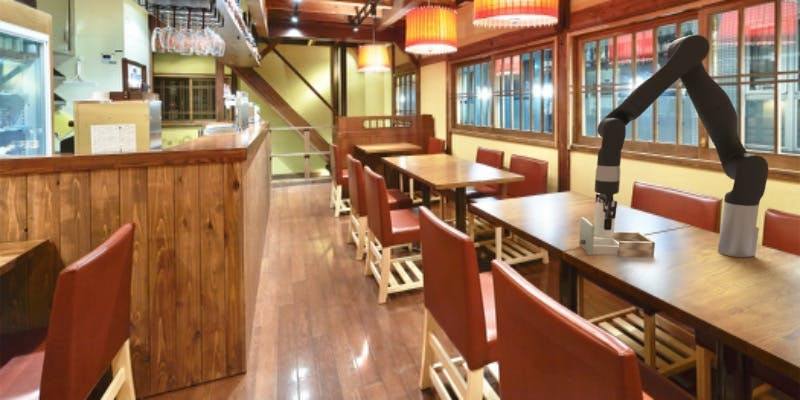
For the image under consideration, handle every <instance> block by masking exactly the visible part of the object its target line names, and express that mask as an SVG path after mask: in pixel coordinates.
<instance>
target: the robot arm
mask: <svg viewBox="0 0 800 400" xmlns="http://www.w3.org/2000/svg"><path fill="white" fill-rule="evenodd" d="M710 47H711V45H710V42H709V41H708V39H707V37H705V36H703V35H700V34H691V35H687V36H683V37H680V38H677V39H674V40H673V41H672V42H671V43H670V44H669V46H668V48H667V51H666V54H667V55H666V57H667V61H666V62H665V64H664V65H663V66H662V67H660V68H659V69H658V70H657V71H656V72H655V73H654V74H652V75H651V76H650V77H648V78H647V79H646V80H645V81H643V82H642V83H641V84H639V85H638V86H637V87H636V88H635V89H634V90H633V91H632V92H631V93H630V94H629V95H628V96H626V98H625V99H624V100H623V101H622V102H621V103H620V105H618V106H617V107H616V108H613V110H612V111H611V112H609V113H608V114H607V115H606V116H604V117H603V119H601V121H600V122H599V124H598V126H597V133H598V135H599V136H600V137H601V138H602V140H601V146H600V148H599V150H598V153H597V160H596V161H597V162H596V169H595V177H594V192H595V193H596V194H595V204H596V203H597V200H598V202H601V203H602V204H603V212H604V218H605V219H604V229H605V230H611V226H612V219H615V220H616V215H617V208H618V201H616V200H614V195H617V194H619V192H620V183H621V160H622V158H621V157H622V150H623V147H624V144H625V140H626V131H627V128H626V127H627V125H628V124H629V123H630V122H632V121H635V120H637V119H638V118H639V117H641V115H642V114H644V113H645V111H647V109H649V108H650V107H651V106H652V105H653V103H654V102H655V101H656V100H658V98H659V97H661V96H662V95H663V94H664V93H665V92H666V91H667V90H668V89H669V88H670V87H671V86H672V85H674V84H675V83H676V82H677V81H679V79H680V81H681V83H682V84H683V87H684V88H685V90H686V93H687V95H688V97H689V98H690V101H691V103H692V105H693V107H694V109H695V112H696V113H697V115H698V117H699V119H700V121H701V124H702V125H703V127H704V129H705V130H706V132H707V135H708V136H709V138H710V140H711V141H712V143H713V145H714V148H715V150H716V153H717V155H718V159H719V162H720V164H721V167H722V169H723V171H724V173H725V175H726V176H727V178H729V179H730V180H733V186H732V189H731V190H730V191H728V192H726V193H725V194H724V199H723V207H722V217H721V223H720V230H719V239H718V247H717V252H718V253H720V254H722V255H725V256H728V257H734V258H750V257H755V256H756V253H757V245H758V239H759V232H760V228H759V227H758V226H757V224H758V218H759V217H758V215H759V207H760V202H761V200H762V198H763V197H764V195H765V191H766V186H767V182H768V177H769V176H768V175H769V164H768V161H767V160H766V159H765V157H763V156H761V155H758V154H753V153H748V151H747V150H746V148H745V147H744V145H743V143H742V141H741V140H740V136H739V133H738V114H737V111H736V109H735V106H734V104H733V103H732V100H731V98H730V97H729V95H728V94H727V92H726V91H725V89H724V88H722V86H720V85H719V83H718V82H716V81H715V80H714V79H713V78H712V76H710V74H709V73H708V71H707V70H706V68H705V66H704V64H703V61H704V60H706V58H707V56H708V54H709V53H710ZM604 203H605V204H604ZM605 206H608V207H607V209H605ZM610 212H611V215H609V214H610Z"/></svg>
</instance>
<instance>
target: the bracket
mask: <svg viewBox="0 0 800 400" xmlns="http://www.w3.org/2000/svg"><path fill="white" fill-rule="evenodd" d="M579 227H580V228H579V240H578V241H579V243H578V245H579V246H580V247H581V248H582V249H583V250H584V251H585V252H586V253H587V254H588V255H589V256H593V255H616V256H618V248H619V243H618V242H617V241H616V240H614V239H613V238H600V237H595V236H594V228H595V226H594V223H592V222H590V221H589V220H588V219H586V217H583V216H582V217H580V225H579Z"/></svg>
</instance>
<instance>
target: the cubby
mask: <svg viewBox="0 0 800 400" xmlns="http://www.w3.org/2000/svg"><path fill="white" fill-rule="evenodd" d="M611 238H613V239H614V240H616V241H617V242H618V243H619V248H618V255H617V257H619V258H654V256H655V249H656V248H655V247H656V246H655V245H656V242H655V241H653V240H652V239H650V238H648V237H647V236H646V235H644V234H643V233H641V232H640V231H614V235H613V237H611Z"/></svg>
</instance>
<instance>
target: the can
mask: <svg viewBox="0 0 800 400" xmlns="http://www.w3.org/2000/svg"><path fill="white" fill-rule="evenodd" d="M604 204H605V203H604ZM607 207H608V206H605V209H607ZM609 215H611V212H610V214H609ZM604 219H605V218H604V212H603V204H602V203H601V202H598V200H597V203H596V202H595V205H594V213H593V225H594V226H595V228H594V237H595V238H611V237H613V235H614V232H615V224H616V223H615V220H616V218H615V219H612V226H611V230H605V229H604Z"/></svg>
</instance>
